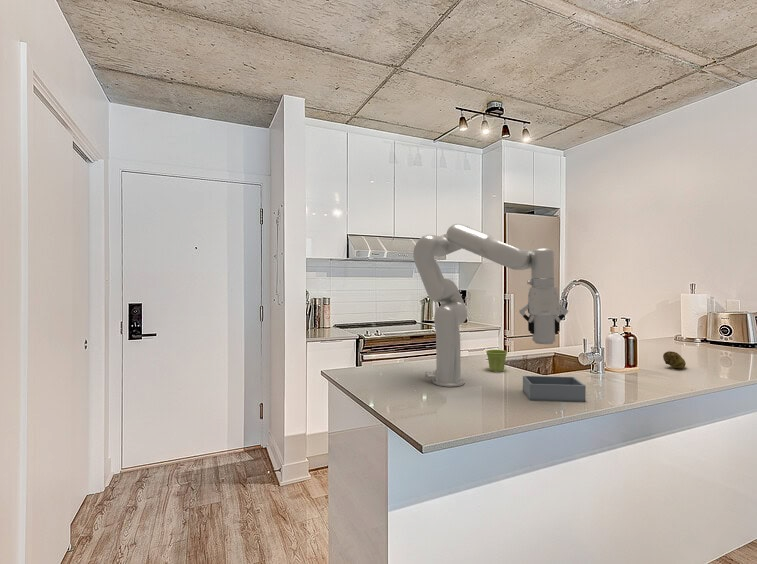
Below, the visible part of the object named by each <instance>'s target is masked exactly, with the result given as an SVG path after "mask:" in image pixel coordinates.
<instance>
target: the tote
mask: <svg viewBox="0 0 757 564" xmlns="http://www.w3.org/2000/svg"><path fill="white" fill-rule="evenodd" d="M522 391H523V392H524V393H523V394H525V395H526V397H527V398H528V399H529V401H539V402H540V401H541V402H542V401H543V402H544V401H545V402H571V403H572V402H573V403H574V402H575V403H577V402H578V403H579V402H580V403H581V402H582V403H586V399H587V398H586V385H585V384H584V383H583V382H581V381H580V380H579V379H577V378H576V377H575V376H553V375H551V376H548V375H547V376H544V375H522Z"/></svg>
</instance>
